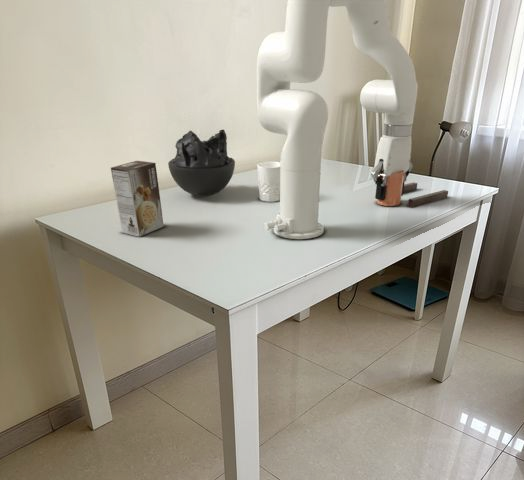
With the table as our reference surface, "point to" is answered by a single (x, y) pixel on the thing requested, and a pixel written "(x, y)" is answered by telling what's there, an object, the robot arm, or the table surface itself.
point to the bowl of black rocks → (202, 164)
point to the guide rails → (424, 198)
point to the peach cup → (393, 189)
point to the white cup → (269, 181)
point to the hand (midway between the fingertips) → (389, 196)
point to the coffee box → (137, 197)
